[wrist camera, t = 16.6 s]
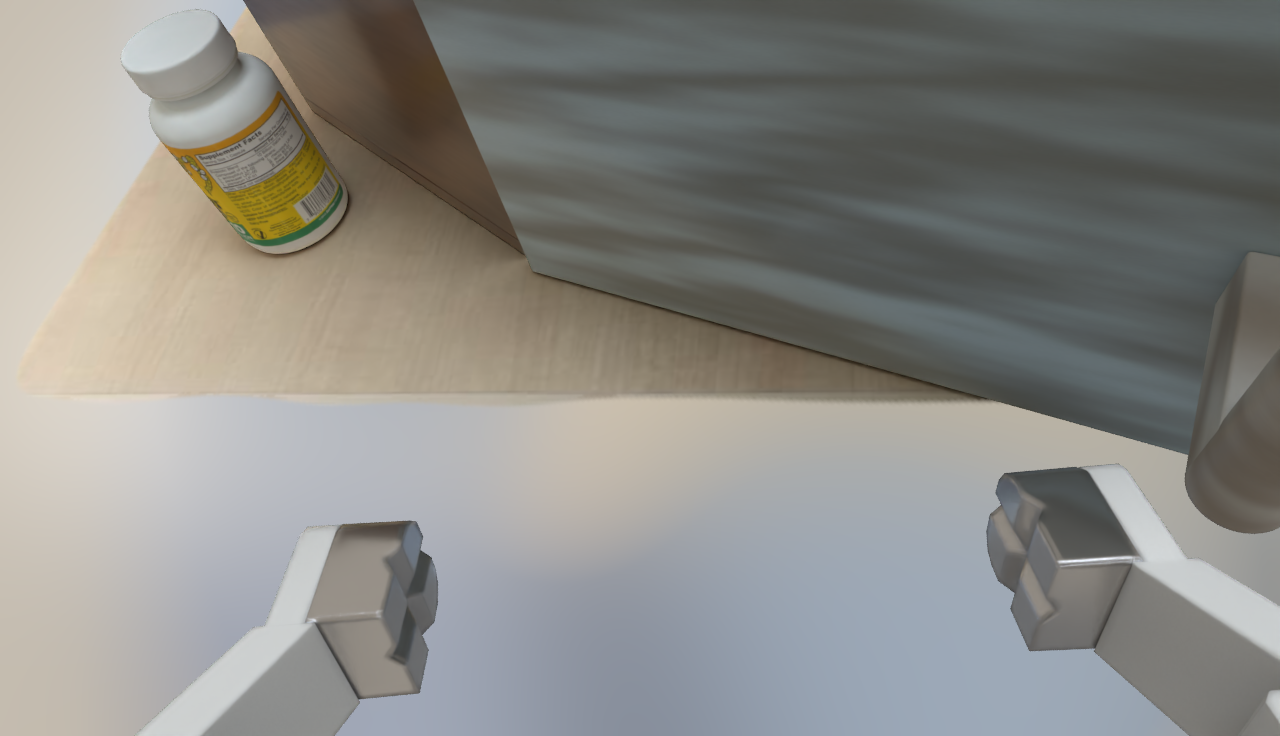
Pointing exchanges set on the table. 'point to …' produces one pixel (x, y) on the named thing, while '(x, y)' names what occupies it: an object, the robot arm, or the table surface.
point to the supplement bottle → (235, 132)
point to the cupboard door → (922, 192)
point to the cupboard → (385, 93)
